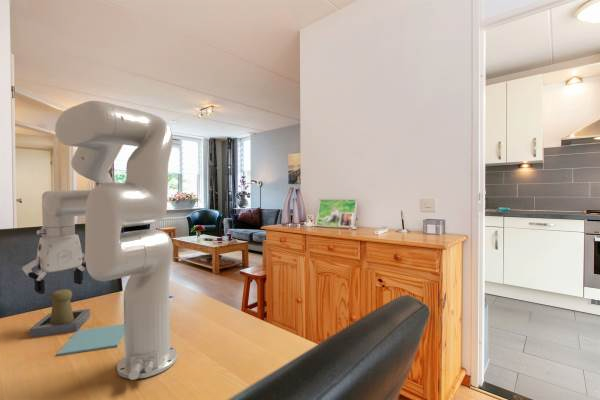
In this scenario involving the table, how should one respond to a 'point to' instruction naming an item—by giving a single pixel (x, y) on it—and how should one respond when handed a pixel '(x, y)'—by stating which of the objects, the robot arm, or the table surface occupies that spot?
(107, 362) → the table surface
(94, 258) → the robot arm
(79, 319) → the square socket
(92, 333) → the rubber mat
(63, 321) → the cork
